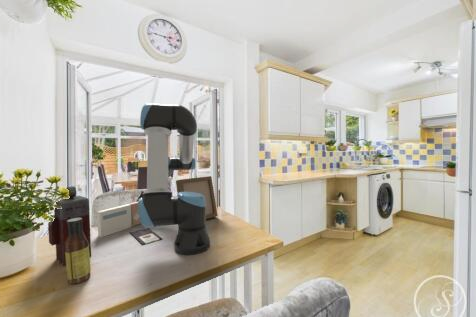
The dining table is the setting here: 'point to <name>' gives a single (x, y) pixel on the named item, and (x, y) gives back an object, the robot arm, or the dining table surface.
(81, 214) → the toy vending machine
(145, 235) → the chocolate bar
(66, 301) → the dining table surface
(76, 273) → the sauce bottle
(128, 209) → the white slotted box
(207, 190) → the photo frame
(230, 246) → the dining table surface
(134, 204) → the stub
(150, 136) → the robot arm
